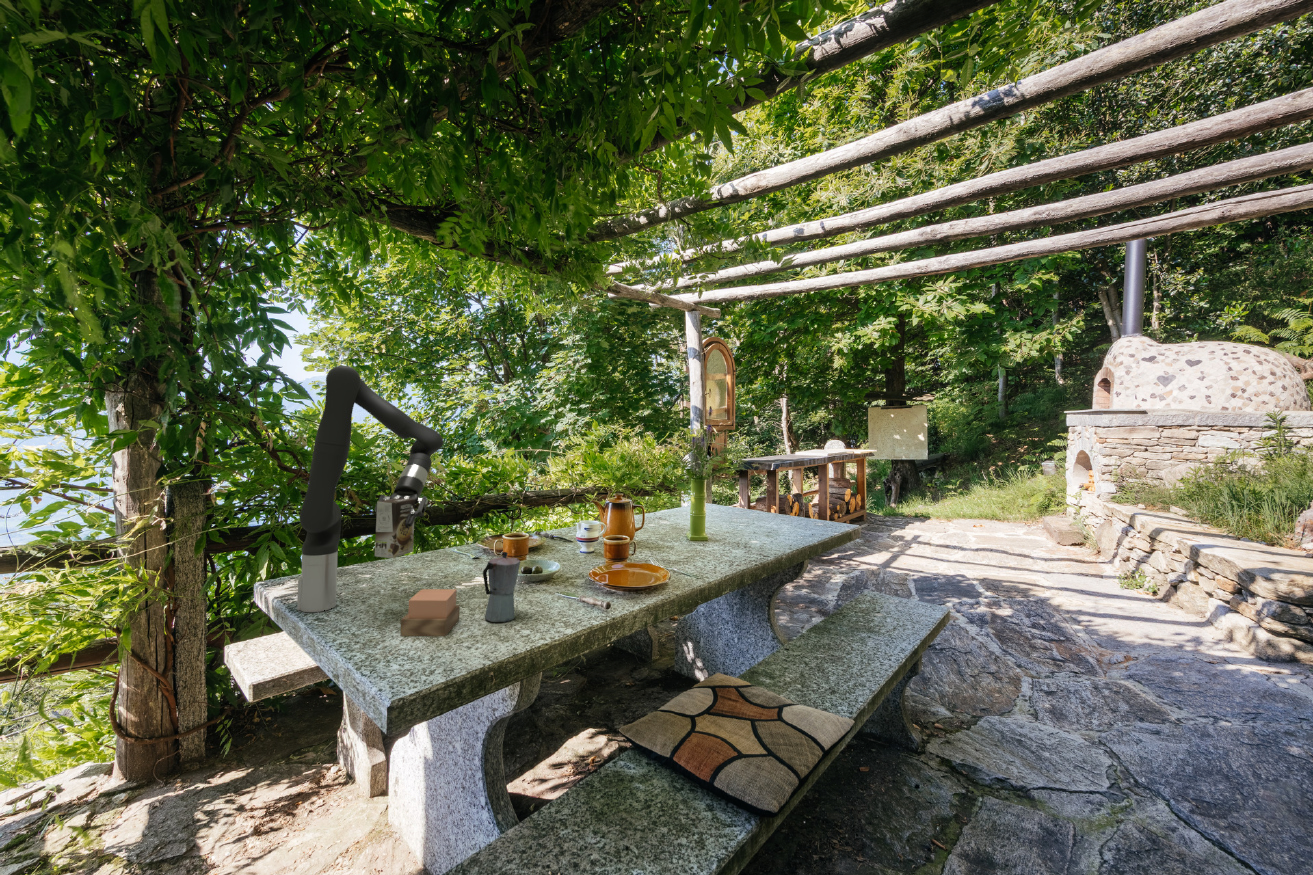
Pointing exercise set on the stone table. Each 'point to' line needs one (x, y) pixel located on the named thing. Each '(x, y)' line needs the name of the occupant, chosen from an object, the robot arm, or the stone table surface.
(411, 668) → the stone table surface
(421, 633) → the tower base block
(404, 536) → the coffee box
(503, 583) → the moka pot
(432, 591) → the tower top block
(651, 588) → the stone table surface
